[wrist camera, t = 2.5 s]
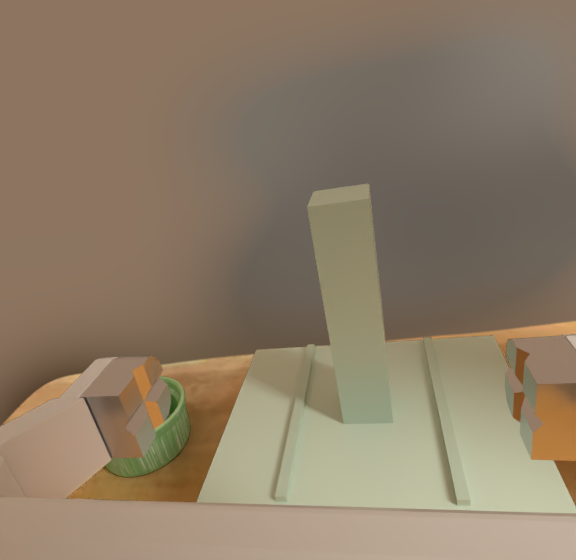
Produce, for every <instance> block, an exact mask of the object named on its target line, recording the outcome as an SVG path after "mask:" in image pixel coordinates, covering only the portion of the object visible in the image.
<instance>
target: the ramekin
mask: <svg viewBox="0 0 576 560" xmlns="http://www.w3.org/2000/svg"><path fill="white" fill-rule="evenodd" d="M159 378H161V379H162V380H163V381H164V382H165V383H166V384H167V385H168V387H169V390H170V395H171V405H170V411H169V414H168V416H167V418H166V420H165V422H164V423H162V424H161V425H160V426H158V427H157V428H155V433H156V437H155V439H154V441H153V443H152V444H151V446H150V448H149V449H148V451H147V453H146V455H145V456H144V457H140V458H111V461H110V462H109V463H107V464H106V465H105V467H106V468H107V469H108V470H109V471H110V472H111V473H113V474H115V475H117V476H122V477H137V476H141V475H145V474H149V473H151V472H154V471H156V470H158V469H160V468H162V467H163V466H165V465H166V464H168V463H169V462H170V461H171V460H173V459H174V458H175V457H176V456H177V455H178V454H179V453H180V452H181V450H182V449H183V448H184V446H185V444H186V443H187V440H188V438H189V435H190V421H189V417H188V413H187V409H186V404H185V392H184V389H183V387H182V385H181V384H180V383H179V382H178V381H176V380H175V379H172V378H169V377H163V376H160V377H159Z"/></svg>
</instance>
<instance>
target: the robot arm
mask: <svg viewBox="0 0 576 560" xmlns="http://www.w3.org/2000/svg"><path fill="white" fill-rule="evenodd" d="M506 357H507V359H508V361H509V364H510V366H511V367H510V368H509V369H508V370H507V372H506V373H505V392H506V399H507V403H508V406H509V410H510V412H511V414H512V417H513V418H514V419H516V420H517V421H519V422H520V436H521V438H522V440H523V442H524V445H525V447H526V449H527V452H528V454H529V456H530V458H531V460H557V461H576V334H570V335H561V336H548V337H533V338H518V339H508V342H507V345H506ZM161 373H162V367H161V365H160V363H159V360H158V359H157V358H155V357H154V356H139V357H118V358H117V357H108V358H100V359H96V360H95V361H94V362H93V363H92V364H91V365H90V366H89V367H88V368H87V369H86V370H85V371H84V372H83V373H82V375H81V376H80V377H79V378H78V379H77V380H76V381H75V382H74V383H73V384H72V385H71V386H70V387H69V388H68V389H67V390H66V391H65V392H64V393H63V394H62V396H61V397H60V398H54V399H52V400H50V401H48V402H46V403H44V404H42V405H40V406H38V407H36V408H35V409H33V410H31V411H29V412H27V413H25V414H23V415H21V416H19V417H17V418H16V419H14V420H12V421H10V422H8V423H6V424H4V425H2V426H0V560H576V513H540V512H505V511H473V510H441V509H409V508H376V507H344V506H310V505H274V504H239V503H203V502H168V501H135V500H101V499H68V498H67V497H68V496H70V495H71V494H72V493H73V492H74V491H76V490H77V489H78V488H79V487H80V486H81V485H83V484H84V483H85V482H86V481H87V480H88V479H90V478H91V477H92V476H93V475H94V474H96V473H97V472H98V471H99V470H100V469H101V468H103V467H104V466H105V465H106V464H107V463H109V462H110V461H111V458H140V457H144V456H145V455H146V453H147V451H148V449H149V448H150V446H151V444H152V443H153V441H154V439H155V437H156V433H155V428H157V427H158V426H160V425H161V424H162V423H164V422H165V420H166V418H167V416H168V414H169V411H170V405H171V395H170V390H169V387H168V385H167V384H166V383H165V382H164V381H163V380H162V379H161V378H159V377H160V375H161Z"/></svg>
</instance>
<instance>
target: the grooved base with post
mask: <svg viewBox="0 0 576 560" xmlns="http://www.w3.org/2000/svg"><path fill="white" fill-rule="evenodd" d="M307 209H308V215H309V221H310V226H311V232H312V238H313V244H314V250H315V256H316V262H317V268H318V274H319V280H320V286H321V291H322V297H323V304H324V310H325V316H326V322H327V328H328V333H329V339H330V345H327V346H315V344H309V345H307V347H294V348H279V349H278V348H277V349H261V350H256V352H255V354H254V357H253V359H252V362H251V364H250V367H249V369H248V372H247V375H246V377H245V380H244V382H243V385H242V387H241V390H240V392H239V395H238V397H237V400H236V402H235V405H234V408H233V410H232V413H231V415H230V418H229V420H228V423H227V425H226V428H225V430H224V433H223V435H222V438H221V441H220V443H219V446H218V448H217V451H216V453H215V456H214V458H213V461H212V463H211V466H210V469H209V471H208V474H207V476H206V479H205V481H204V484H203V486H202V489H201V491H200V494H199V496H198V499H197V502H203V503H239V504H274V505H310V506H344V507H376V508H409V509H441V510H473V511H505V512H540V513H576V506H575V504H574V502H573V500H572V498H571V496H570V494H569V492H568V490H567V487H566V485H565V483H564V481H563V479H562V477H561V475H560V473H559V471H558V469H557V467H556V464H555V462H554V460H531V458H530V456H529V454H528V452H527V449H526V447H525V445H524V442H523V440H522V438H521V436H520V422H519V421H517V420H516V419H514V418H513V417H512V414H511V412H510V410H509V406H508V403H507V399H506V392H505V373H506V372H507V370H508V369H509V366H508V364H507V362H506V360H505V358H504V356H503V353H502V351H501V349H500V347H499V345H498V343H497V341H496V339H495V337H494V335H490V336H473V337H457V338H441V339H432V338H431V337H423V340H408V341H392V342H386V341H385V333H384V322H383V313H382V303H381V294H380V285H379V275H378V266H377V256H376V247H375V238H374V227H373V219H372V209H371V199H370V191H369V184H362V185H356V186H349V187H342V188H335V189H328V190H320V191H314V192H313V195H312V197H311V199H310V201H309V204H308V207H307Z"/></svg>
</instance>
